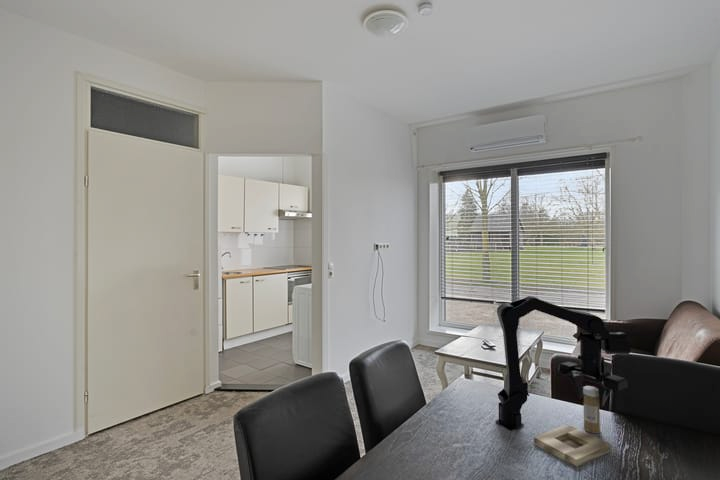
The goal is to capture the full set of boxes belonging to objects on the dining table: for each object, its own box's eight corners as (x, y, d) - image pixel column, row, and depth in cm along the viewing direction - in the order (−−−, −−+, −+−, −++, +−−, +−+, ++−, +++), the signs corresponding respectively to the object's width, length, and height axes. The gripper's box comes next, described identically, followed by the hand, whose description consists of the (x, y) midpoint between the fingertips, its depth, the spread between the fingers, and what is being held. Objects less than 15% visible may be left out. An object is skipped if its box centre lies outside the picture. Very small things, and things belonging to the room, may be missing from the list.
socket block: (533, 443, 110) (533, 437, 110) (567, 430, 117) (567, 424, 117) (576, 467, 98) (576, 459, 98) (610, 451, 106) (610, 444, 106)
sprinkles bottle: (603, 431, 117) (602, 388, 117) (596, 435, 114) (595, 392, 114) (587, 425, 121) (587, 384, 121) (580, 429, 118) (580, 387, 118)
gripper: (637, 357, 113) (637, 408, 113) (577, 342, 129) (578, 387, 129) (616, 363, 108) (617, 416, 108) (557, 347, 124) (557, 393, 124)
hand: (591, 401), depth 117 cm, fingers open, 6 cm apart
